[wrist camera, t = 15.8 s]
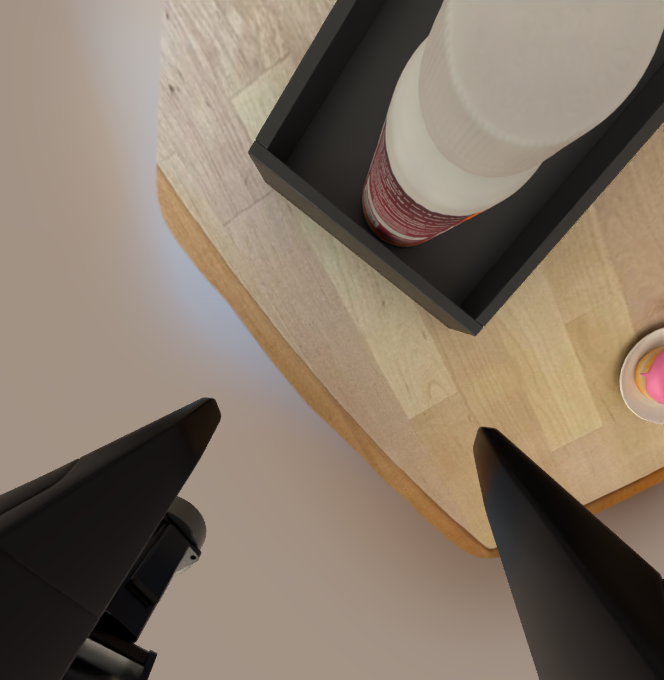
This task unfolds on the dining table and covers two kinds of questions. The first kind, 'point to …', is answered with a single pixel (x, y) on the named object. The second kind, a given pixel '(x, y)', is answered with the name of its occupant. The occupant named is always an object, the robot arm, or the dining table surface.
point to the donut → (645, 378)
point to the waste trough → (361, 141)
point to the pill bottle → (499, 104)
